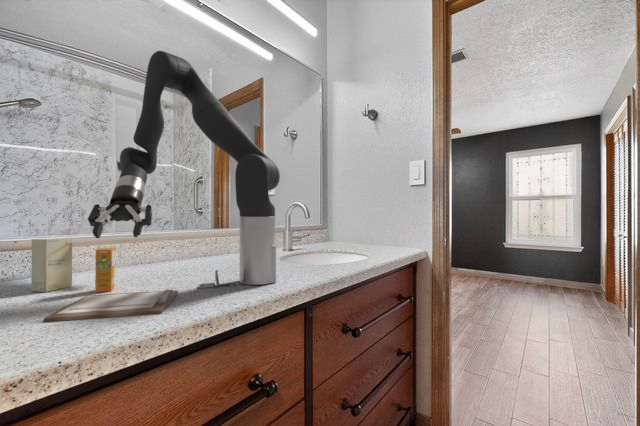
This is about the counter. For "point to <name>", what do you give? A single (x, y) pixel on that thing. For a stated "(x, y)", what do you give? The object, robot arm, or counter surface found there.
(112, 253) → the supplement box
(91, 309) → the wooden board
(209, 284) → the strap clip
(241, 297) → the counter surface
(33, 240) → the skincare box
